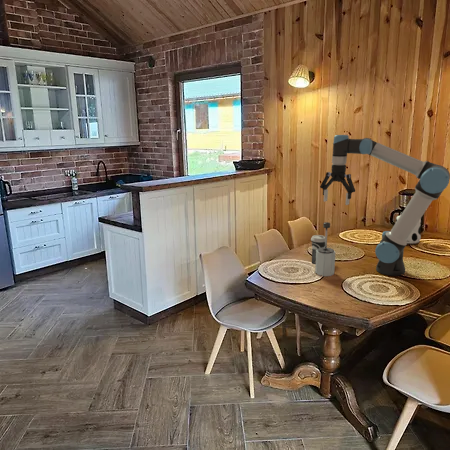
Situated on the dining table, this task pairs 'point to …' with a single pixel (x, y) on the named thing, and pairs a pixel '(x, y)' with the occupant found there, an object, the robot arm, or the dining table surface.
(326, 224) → the plunger
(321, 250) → the carafe
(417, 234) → the milk container
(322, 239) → the coffee cup
